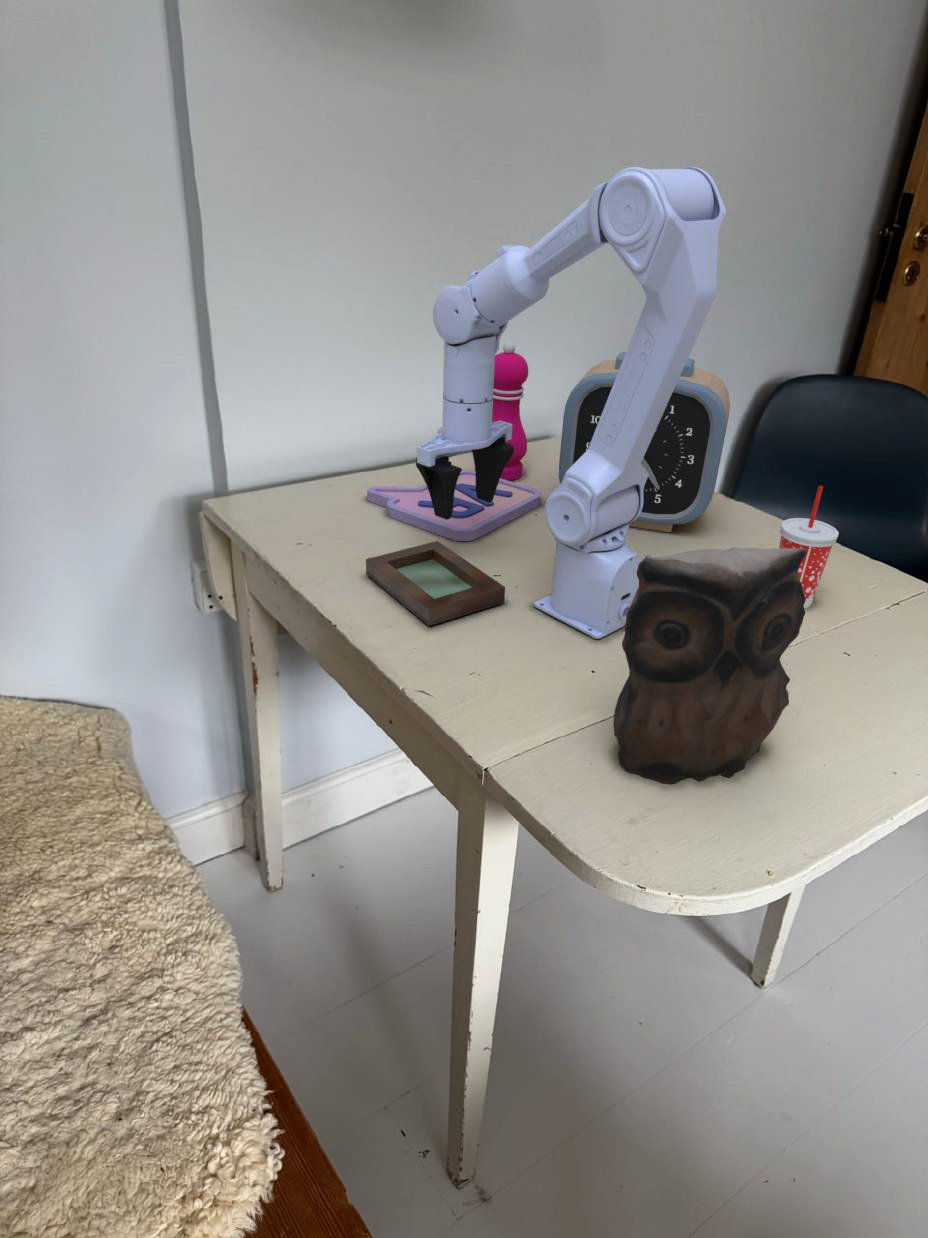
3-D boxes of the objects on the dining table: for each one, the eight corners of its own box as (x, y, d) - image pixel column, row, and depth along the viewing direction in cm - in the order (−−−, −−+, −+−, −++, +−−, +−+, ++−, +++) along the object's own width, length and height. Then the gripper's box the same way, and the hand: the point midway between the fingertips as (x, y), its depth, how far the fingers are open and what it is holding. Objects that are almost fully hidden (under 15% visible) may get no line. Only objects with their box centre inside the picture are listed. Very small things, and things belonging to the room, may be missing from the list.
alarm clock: (553, 517, 117) (567, 358, 106) (567, 493, 124) (582, 343, 113) (704, 540, 111) (736, 376, 100) (709, 514, 119) (739, 359, 108)
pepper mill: (503, 462, 135) (511, 334, 125) (534, 476, 130) (545, 343, 120) (469, 471, 131) (474, 339, 121) (500, 485, 126) (507, 349, 116)
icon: (439, 459, 131) (547, 492, 120) (439, 468, 131) (546, 502, 121) (353, 494, 118) (465, 534, 107) (353, 503, 118) (465, 544, 108)
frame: (504, 602, 94) (505, 586, 93) (429, 626, 89) (429, 609, 88) (437, 555, 104) (437, 540, 103) (366, 574, 99) (365, 558, 98)
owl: (779, 750, 74) (837, 543, 64) (715, 827, 65) (771, 603, 55) (651, 693, 81) (686, 498, 70) (578, 756, 72) (606, 545, 62)
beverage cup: (816, 591, 100) (847, 480, 93) (821, 616, 95) (854, 500, 88) (763, 583, 101) (789, 473, 94) (764, 607, 96) (793, 492, 89)
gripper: (483, 379, 103) (478, 484, 109) (397, 401, 93) (398, 514, 100) (528, 391, 99) (520, 499, 105) (443, 415, 89) (441, 532, 96)
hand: (464, 508), depth 103 cm, fingers open, 7 cm apart
